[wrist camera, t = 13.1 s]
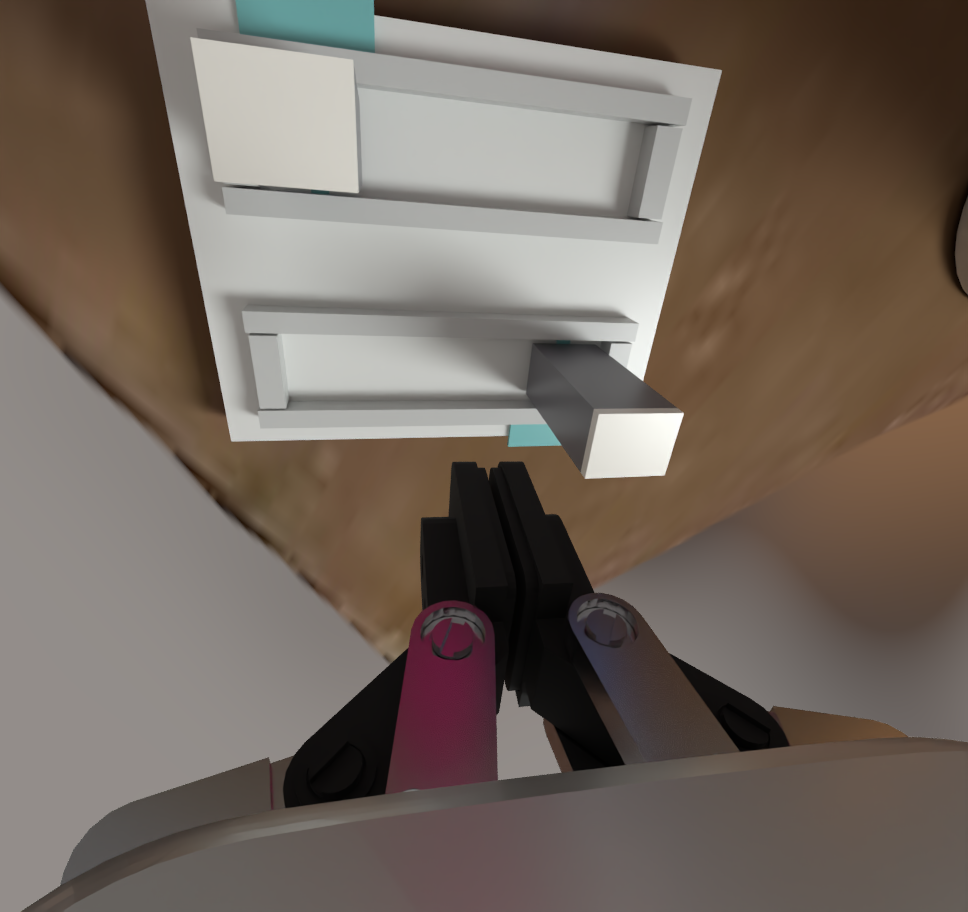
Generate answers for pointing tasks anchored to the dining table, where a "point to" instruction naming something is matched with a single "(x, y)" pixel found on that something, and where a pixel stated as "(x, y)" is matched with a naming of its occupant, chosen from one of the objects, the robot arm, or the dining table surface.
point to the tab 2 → (601, 411)
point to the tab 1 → (279, 116)
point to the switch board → (434, 222)
